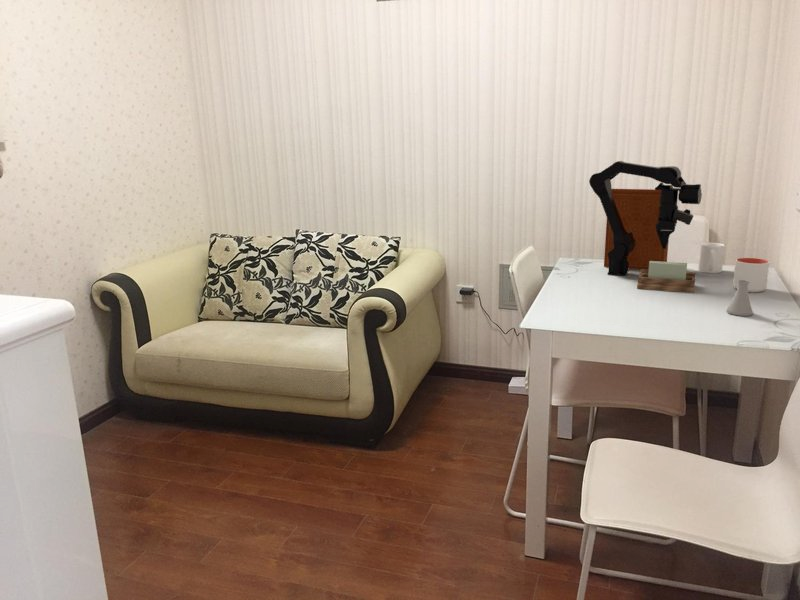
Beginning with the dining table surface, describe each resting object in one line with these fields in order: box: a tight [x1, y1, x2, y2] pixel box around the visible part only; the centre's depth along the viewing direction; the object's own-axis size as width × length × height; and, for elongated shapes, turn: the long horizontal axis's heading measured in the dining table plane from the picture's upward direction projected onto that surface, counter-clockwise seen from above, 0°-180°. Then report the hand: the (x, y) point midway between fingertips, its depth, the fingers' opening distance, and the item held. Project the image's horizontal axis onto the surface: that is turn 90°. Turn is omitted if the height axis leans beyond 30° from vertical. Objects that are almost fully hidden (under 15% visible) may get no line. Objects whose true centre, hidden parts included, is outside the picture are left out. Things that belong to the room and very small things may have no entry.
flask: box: [726, 280, 754, 317], centre depth 198 cm, size 7×7×10 cm
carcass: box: [636, 269, 697, 294], centre depth 231 cm, size 18×11×4 cm, turn 66°
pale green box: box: [648, 261, 688, 280], centre depth 230 cm, size 12×4×7 cm, turn 66°
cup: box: [732, 257, 770, 293], centre depth 225 cm, size 10×10×10 cm
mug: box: [698, 242, 726, 274], centre depth 251 cm, size 12×8×10 cm
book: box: [603, 188, 670, 270], centre depth 260 cm, size 23×8×30 cm, turn 67°
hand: (664, 246), depth 240 cm, fingers open, 9 cm apart
